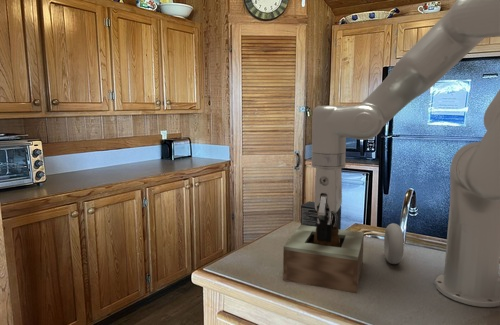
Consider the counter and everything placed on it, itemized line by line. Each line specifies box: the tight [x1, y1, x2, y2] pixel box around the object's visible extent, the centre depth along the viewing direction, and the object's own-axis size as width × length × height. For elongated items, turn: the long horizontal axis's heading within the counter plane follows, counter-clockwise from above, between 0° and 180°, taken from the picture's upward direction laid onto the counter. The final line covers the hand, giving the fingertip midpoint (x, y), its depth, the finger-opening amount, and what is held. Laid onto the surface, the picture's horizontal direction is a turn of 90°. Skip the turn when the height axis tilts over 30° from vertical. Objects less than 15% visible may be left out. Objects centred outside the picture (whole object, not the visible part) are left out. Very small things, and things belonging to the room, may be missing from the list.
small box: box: [300, 201, 342, 230], centre depth 106 cm, size 11×6×10 cm, turn 58°
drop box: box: [282, 224, 365, 294], centre depth 85 cm, size 16×16×8 cm
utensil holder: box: [314, 211, 340, 247], centre depth 84 cm, size 6×6×12 cm
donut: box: [383, 223, 405, 265], centre depth 90 cm, size 10×4×10 cm, turn 168°
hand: (326, 235), depth 84 cm, fingers open, 5 cm apart
